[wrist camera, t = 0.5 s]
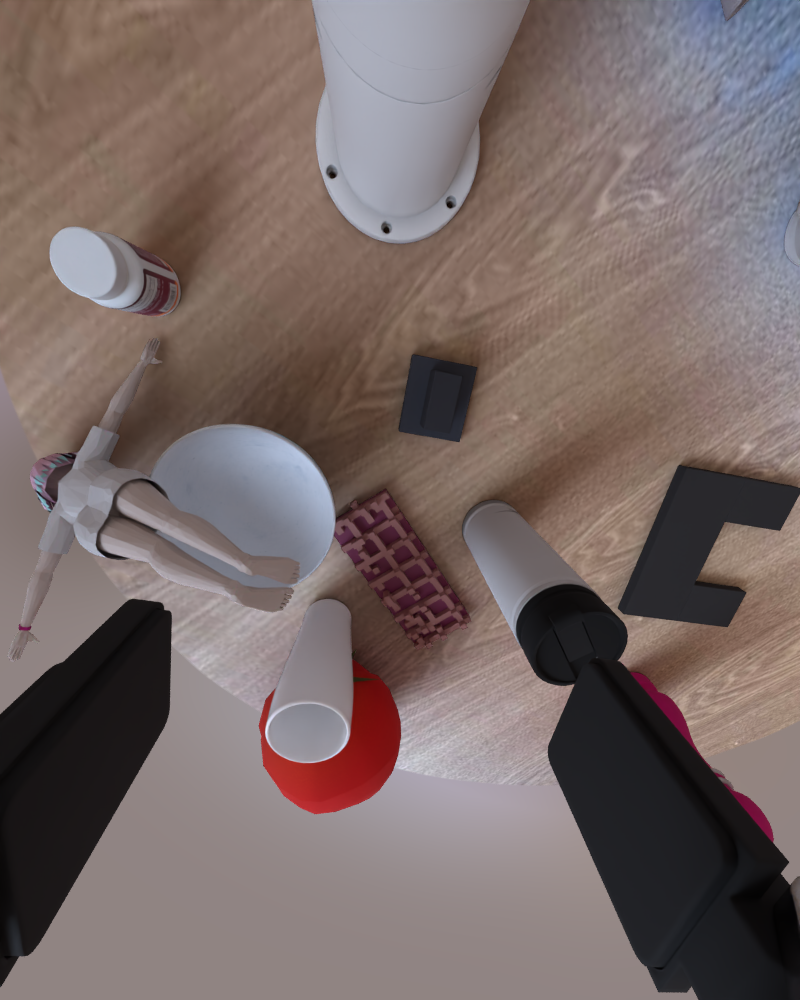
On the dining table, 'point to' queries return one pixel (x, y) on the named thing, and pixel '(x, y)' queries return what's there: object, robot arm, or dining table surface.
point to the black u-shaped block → (699, 544)
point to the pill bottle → (114, 272)
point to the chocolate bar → (400, 570)
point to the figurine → (134, 522)
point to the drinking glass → (315, 688)
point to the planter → (732, 7)
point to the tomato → (343, 753)
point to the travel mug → (541, 595)
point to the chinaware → (250, 496)
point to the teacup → (793, 238)
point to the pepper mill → (680, 723)
